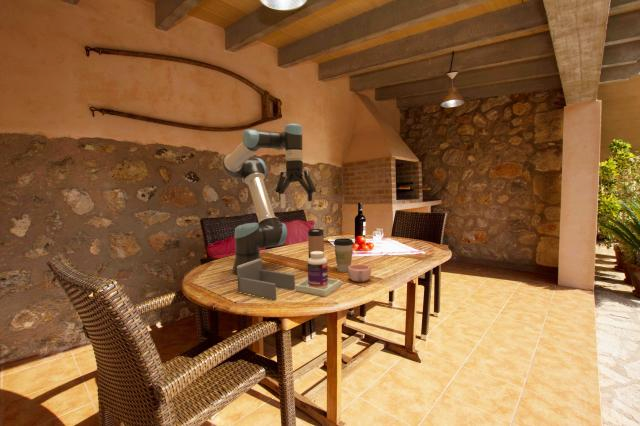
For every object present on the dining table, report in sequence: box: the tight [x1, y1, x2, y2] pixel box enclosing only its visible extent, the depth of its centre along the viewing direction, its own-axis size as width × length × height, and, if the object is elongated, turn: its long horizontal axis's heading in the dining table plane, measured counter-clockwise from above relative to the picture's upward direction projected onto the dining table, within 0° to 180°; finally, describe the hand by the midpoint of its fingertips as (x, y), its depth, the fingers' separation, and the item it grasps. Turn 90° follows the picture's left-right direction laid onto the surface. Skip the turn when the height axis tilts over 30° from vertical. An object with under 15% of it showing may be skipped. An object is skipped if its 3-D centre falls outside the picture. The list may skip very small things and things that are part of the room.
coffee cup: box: [333, 237, 354, 273], centre depth 148 cm, size 10×10×15 cm
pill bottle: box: [307, 251, 329, 289], centre depth 122 cm, size 8×8×14 cm
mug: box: [347, 263, 372, 283], centre depth 134 cm, size 12×10×6 cm
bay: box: [236, 258, 296, 301], centre depth 121 cm, size 18×13×11 cm
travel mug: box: [307, 228, 325, 259], centre depth 148 cm, size 8×8×20 cm
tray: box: [294, 277, 342, 298], centre depth 123 cm, size 14×14×2 cm
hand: (295, 208), depth 135 cm, fingers open, 13 cm apart
